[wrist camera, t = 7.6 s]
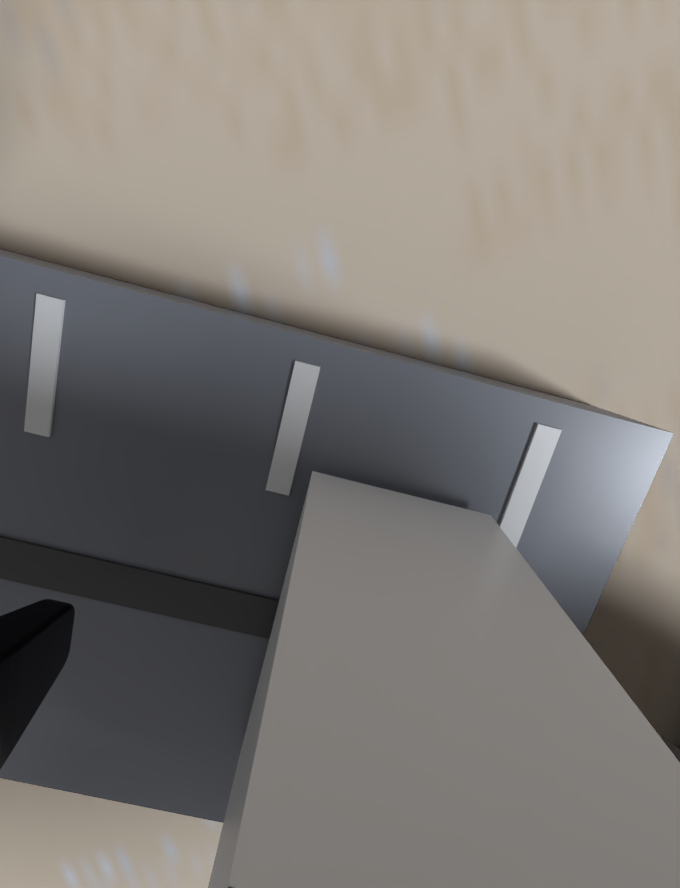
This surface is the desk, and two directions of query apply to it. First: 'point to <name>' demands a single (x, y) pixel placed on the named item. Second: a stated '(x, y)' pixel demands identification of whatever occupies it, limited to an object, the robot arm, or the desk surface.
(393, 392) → the fader board
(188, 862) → the desk surface
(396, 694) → the fader knob
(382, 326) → the desk surface
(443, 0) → the desk surface
